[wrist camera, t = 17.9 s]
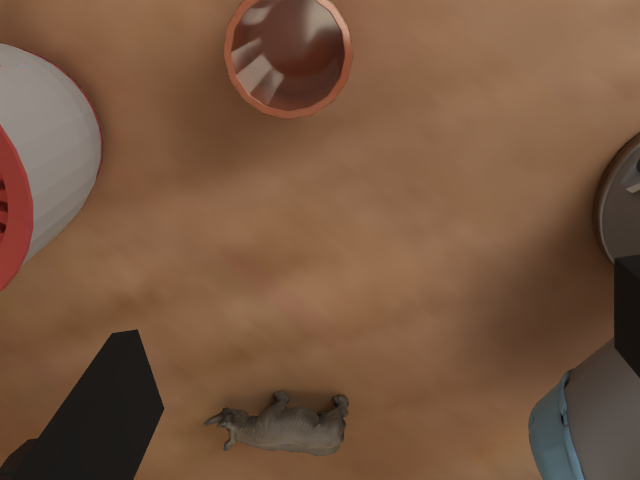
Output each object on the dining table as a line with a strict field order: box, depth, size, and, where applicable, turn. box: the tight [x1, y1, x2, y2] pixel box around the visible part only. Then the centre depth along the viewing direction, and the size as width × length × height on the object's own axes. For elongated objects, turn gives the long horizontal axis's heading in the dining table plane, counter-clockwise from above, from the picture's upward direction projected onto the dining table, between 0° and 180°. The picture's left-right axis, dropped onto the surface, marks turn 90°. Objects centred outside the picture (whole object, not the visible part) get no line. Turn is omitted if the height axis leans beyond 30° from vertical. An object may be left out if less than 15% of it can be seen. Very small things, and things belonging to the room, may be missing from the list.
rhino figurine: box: [204, 391, 349, 456], centre depth 55 cm, size 4×14×6 cm, turn 88°
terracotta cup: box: [223, 0, 353, 119], centre depth 40 cm, size 8×8×9 cm
